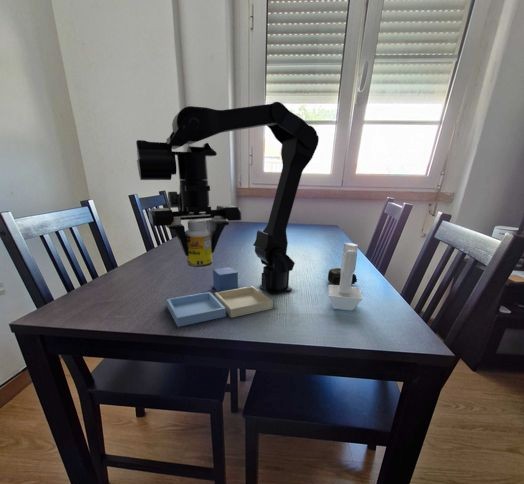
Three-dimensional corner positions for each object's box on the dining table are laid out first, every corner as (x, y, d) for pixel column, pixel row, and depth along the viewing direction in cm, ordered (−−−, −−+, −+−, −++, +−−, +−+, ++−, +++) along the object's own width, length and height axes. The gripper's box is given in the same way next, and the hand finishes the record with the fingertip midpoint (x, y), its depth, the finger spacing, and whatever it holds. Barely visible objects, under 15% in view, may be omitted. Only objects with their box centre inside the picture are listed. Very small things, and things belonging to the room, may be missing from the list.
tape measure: (333, 288, 77) (334, 275, 76) (323, 279, 83) (324, 267, 82) (356, 287, 78) (358, 274, 77) (344, 278, 85) (346, 267, 83)
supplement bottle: (182, 267, 64) (177, 222, 60) (199, 261, 68) (196, 218, 64) (201, 271, 61) (197, 224, 57) (217, 265, 66) (215, 220, 62)
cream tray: (252, 293, 73) (252, 285, 72) (272, 308, 64) (272, 300, 64) (214, 300, 68) (214, 292, 67) (231, 317, 60) (231, 309, 59)
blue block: (230, 284, 78) (230, 267, 77) (237, 290, 74) (237, 272, 73) (213, 286, 76) (212, 269, 74) (220, 293, 72) (219, 275, 70)
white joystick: (356, 299, 70) (365, 240, 65) (360, 316, 62) (371, 249, 56) (327, 296, 72) (333, 238, 66) (326, 312, 63) (334, 247, 58)
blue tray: (210, 299, 69) (210, 291, 68) (225, 316, 60) (225, 308, 60) (167, 307, 64) (166, 299, 63) (177, 327, 56) (176, 318, 55)
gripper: (223, 179, 68) (225, 242, 74) (140, 179, 60) (151, 250, 66) (241, 180, 59) (243, 252, 65) (147, 180, 51) (158, 262, 57)
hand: (199, 253), depth 63 cm, fingers closed on supplement bottle, 5 cm apart
